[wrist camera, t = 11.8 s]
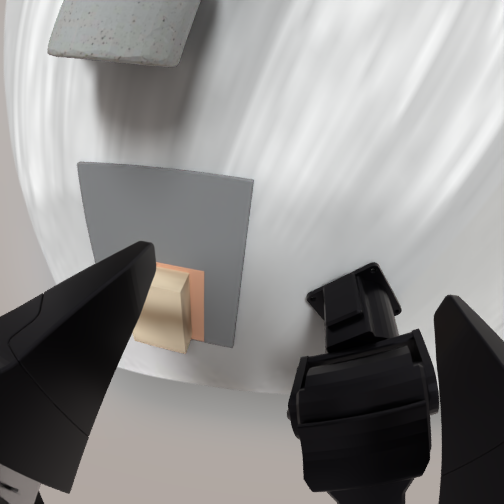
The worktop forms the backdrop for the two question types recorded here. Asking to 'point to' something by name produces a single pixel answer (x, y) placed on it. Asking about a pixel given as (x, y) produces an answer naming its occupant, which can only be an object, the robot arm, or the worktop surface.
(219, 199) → the mat
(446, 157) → the worktop surface
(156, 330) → the card box
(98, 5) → the ceramic mug
